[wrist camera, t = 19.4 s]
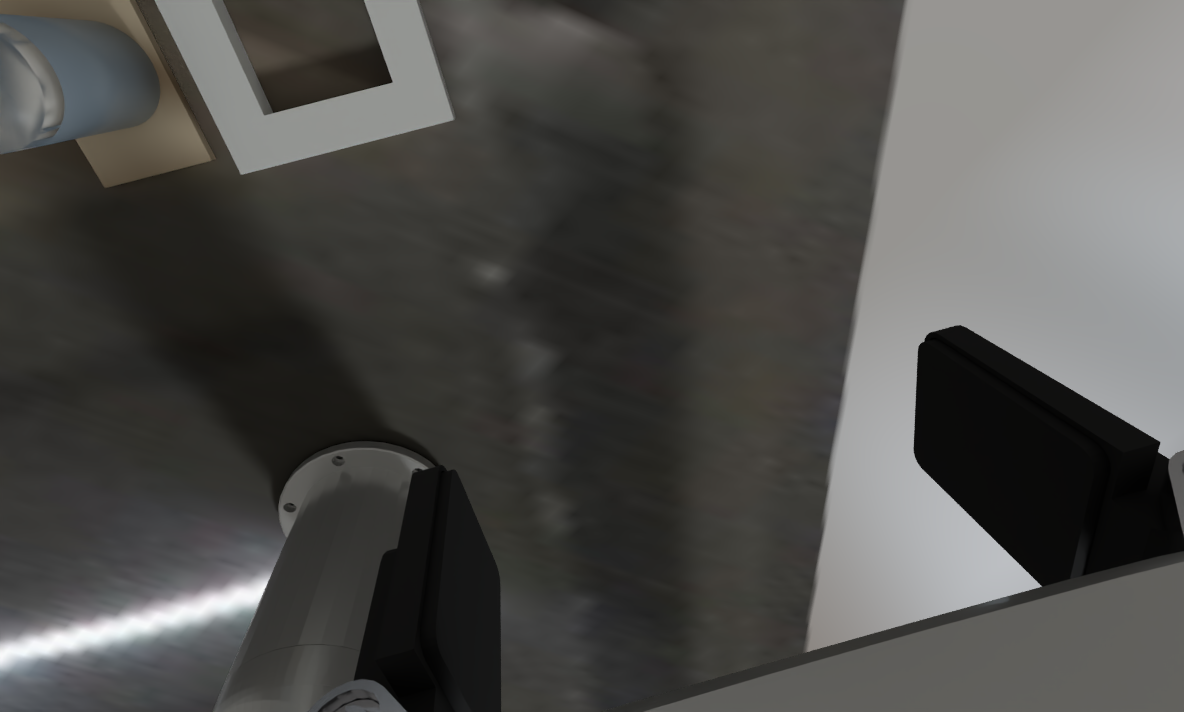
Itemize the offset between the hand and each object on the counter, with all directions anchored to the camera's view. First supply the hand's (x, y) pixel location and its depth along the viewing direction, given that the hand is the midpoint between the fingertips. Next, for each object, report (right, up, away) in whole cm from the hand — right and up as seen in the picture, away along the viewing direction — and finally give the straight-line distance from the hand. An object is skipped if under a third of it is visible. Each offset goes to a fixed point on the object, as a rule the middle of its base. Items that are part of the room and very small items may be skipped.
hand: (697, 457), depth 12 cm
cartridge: (-27, +16, +19) cm, 37 cm away
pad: (-27, +17, +19) cm, 37 cm away
